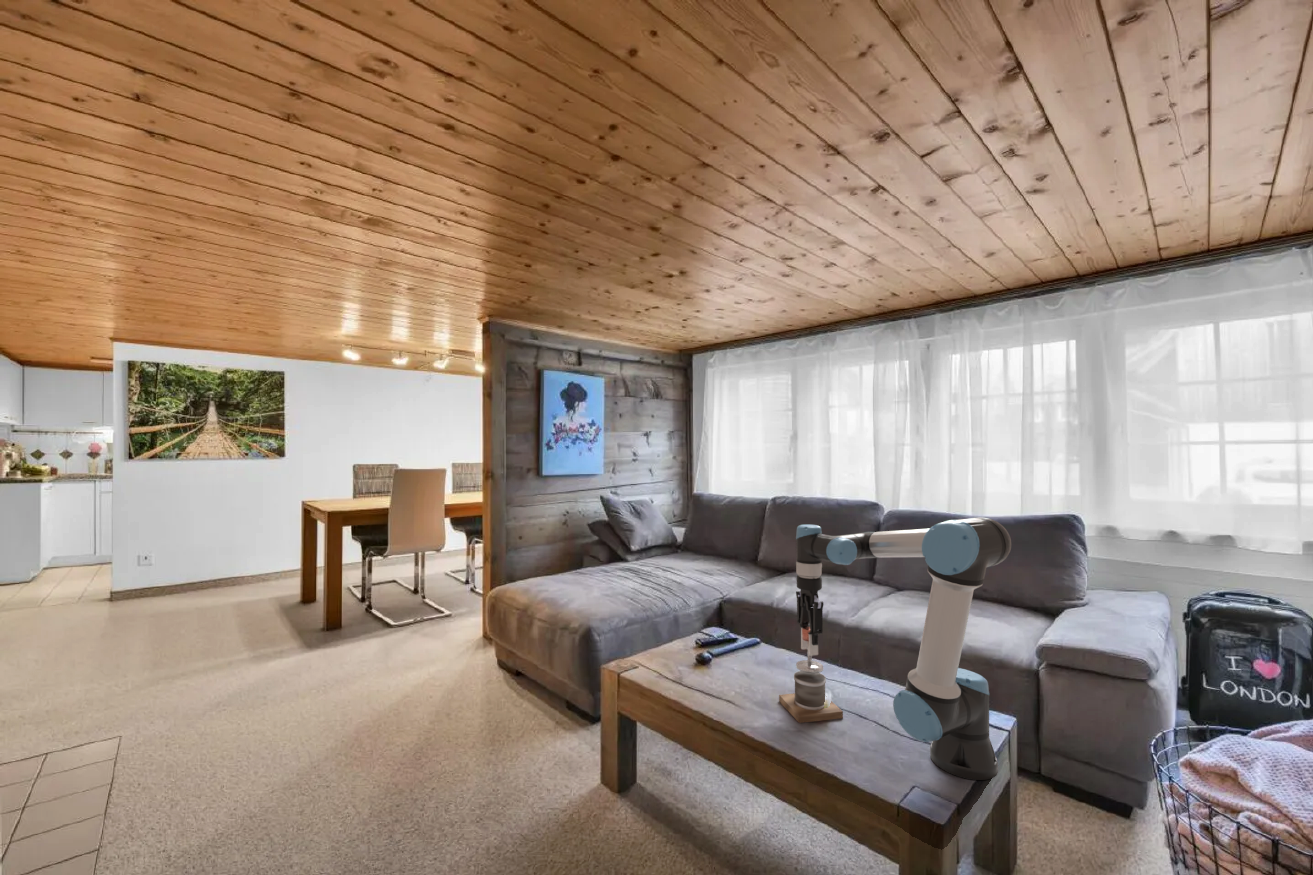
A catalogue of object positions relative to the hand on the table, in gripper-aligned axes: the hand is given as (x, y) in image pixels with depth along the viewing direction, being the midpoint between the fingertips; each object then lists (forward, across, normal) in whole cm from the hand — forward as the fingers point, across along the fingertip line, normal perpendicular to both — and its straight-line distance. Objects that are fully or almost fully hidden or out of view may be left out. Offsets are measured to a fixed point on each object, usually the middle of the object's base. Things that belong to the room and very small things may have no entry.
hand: (809, 651), depth 170 cm
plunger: (+5, 0, 0) cm, 5 cm away
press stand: (+18, 0, 0) cm, 18 cm away
